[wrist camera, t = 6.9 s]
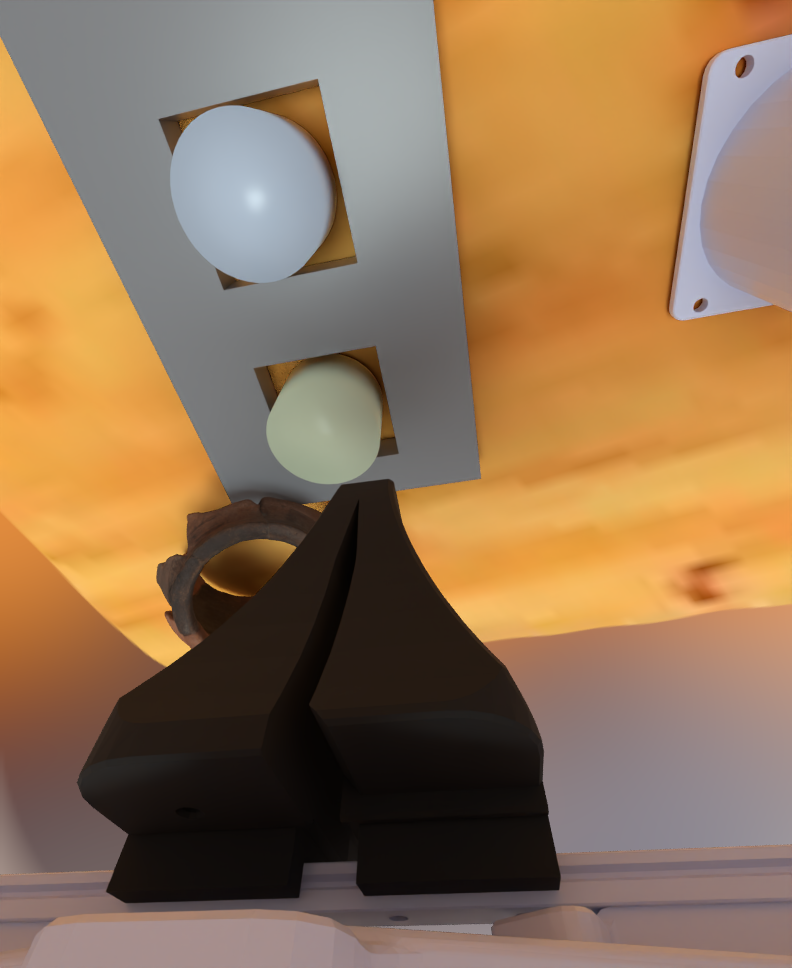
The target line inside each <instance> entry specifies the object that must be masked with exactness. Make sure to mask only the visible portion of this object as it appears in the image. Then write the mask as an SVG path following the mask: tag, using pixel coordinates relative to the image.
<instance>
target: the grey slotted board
mask: <svg viewBox="0 0 792 968" xmlns="http://www.w3.org/2000/svg"><path fill="white" fill-rule="evenodd" d="M0 37H1V39H2V41H3V43H4V45H5V47H6V49H7V51H8V53H9V55H10V57H11V59H12V61H13V63H14V65H15V67H16V69H17V71H18V73H19V75H20V77H21V79H22V81H23V83H24V85H25V87H26V89H27V91H28V93H29V95H30V97H31V99H32V101H33V103H34V105H35V107H36V109H37V111H38V113H39V115H40V117H41V119H42V121H43V123H44V126H45V128H46V130H47V132H48V134H49V136H50V138H51V140H52V142H53V144H54V146H55V148H56V150H57V152H58V154H59V156H60V158H61V160H62V162H63V164H64V166H65V168H66V170H67V172H68V174H69V176H70V178H71V180H72V182H73V184H74V186H75V188H76V190H77V192H78V194H79V196H80V198H81V200H82V202H83V204H84V206H85V208H86V210H87V212H88V214H89V216H90V218H91V220H92V222H93V224H94V226H95V228H96V230H97V232H98V234H99V236H100V238H101V240H102V242H103V244H104V247H105V249H106V251H107V253H108V255H109V257H110V259H111V261H112V263H113V265H114V267H115V269H116V271H117V273H118V275H119V277H120V279H121V281H122V283H123V285H124V287H125V289H126V291H127V293H128V295H129V297H130V299H131V301H132V303H133V305H134V307H135V309H136V311H137V313H138V315H139V317H140V319H141V321H142V323H143V325H144V327H145V329H146V331H147V333H148V335H149V337H150V339H151V341H152V343H153V345H154V347H155V349H156V351H157V353H158V355H159V357H160V359H161V361H162V363H163V365H164V368H165V370H166V372H167V374H168V376H169V378H170V380H171V382H172V384H173V386H174V388H175V390H176V392H177V394H178V396H179V398H180V400H181V402H182V404H183V406H184V408H185V410H186V412H187V414H188V416H189V418H190V420H191V422H192V424H193V426H194V428H195V430H196V432H197V434H198V436H199V438H200V440H201V442H202V444H203V446H204V448H205V450H206V452H207V454H208V456H209V458H210V460H211V462H212V464H213V466H214V468H215V470H216V472H217V474H218V476H219V478H220V480H221V482H222V484H223V486H224V489H225V491H226V493H227V495H228V497H229V499H230V501H231V503H235V502H238V501H242V500H246V499H249V500H252V501H253V502H255V503H256V504H258V503H259V502H260V500H261V499H262V498H263V497H273V498H277V499H282V500H289V501H292V502H296V503H299V504H308V503H315V502H322V501H329V500H331V499H332V497H333V495H334V494H335V492H336V491H337V489H338V488H339V487H340V486H341V485H342V484H350V483H358V482H366V481H374V480H382V479H390V480H392V481H393V482H394V485H395V490H396V491H399V490H406V489H413V488H419V487H426V486H433V485H440V484H447V483H454V482H461V481H468V480H475V479H481V474H480V464H479V454H478V444H477V434H476V424H475V414H474V404H473V394H472V384H471V374H470V364H469V354H468V344H467V334H466V324H465V314H464V304H463V294H462V284H461V274H460V264H459V254H458V244H457V234H456V224H455V214H454V204H453V194H452V184H451V174H450V164H449V154H448V144H447V134H446V124H445V114H444V104H443V94H442V84H441V74H440V64H439V54H438V44H437V34H436V24H435V14H434V4H433V0H0ZM316 86H320V91H321V96H322V100H323V105H324V110H325V114H326V119H327V123H328V128H329V133H330V137H331V142H332V147H333V151H334V156H335V160H336V165H337V170H338V174H339V179H340V184H341V188H342V193H343V197H344V202H345V207H346V211H347V216H348V221H349V225H350V230H351V234H352V239H353V244H354V248H355V253H356V256H354V257H350V258H345V259H340V260H335V261H330V262H325V263H320V264H315V265H311V266H306V267H301V268H300V269H299V270H298V271H297V272H295V273H294V274H292V275H291V276H289V277H287V278H284V279H282V280H279V281H275V282H269V283H253V282H247V281H243V280H237V281H236V280H235V278H234V277H232V276H230V275H227V274H226V273H224V272H222V271H220V270H219V269H217V268H216V267H215V266H213V265H212V264H211V263H210V262H208V261H207V260H206V259H205V258H204V257H203V256H202V255H201V254H200V253H199V252H198V250H197V249H196V248H195V247H194V246H193V244H192V243H191V241H190V240H189V239H188V237H187V235H186V233H185V232H184V230H183V228H182V226H181V224H180V222H179V220H178V217H177V214H176V211H175V208H174V204H173V200H172V195H171V187H170V169H171V161H172V157H173V153H174V149H175V147H176V145H177V142H178V140H179V138H180V136H181V135H182V132H181V129H180V126H179V123H178V121H181V120H185V119H189V118H193V117H197V116H199V115H201V114H203V113H205V112H206V111H208V110H211V109H214V108H217V107H222V106H228V105H232V106H240V105H244V104H248V103H252V102H256V101H260V100H264V99H268V98H272V97H276V96H280V95H284V94H288V93H292V92H296V91H300V90H304V89H308V88H312V87H316ZM373 346H376V350H377V355H378V359H379V364H380V369H381V373H382V378H383V383H384V387H385V392H386V396H387V401H388V406H389V410H390V415H391V420H392V424H393V429H394V433H395V438H391V439H384V440H380V447H379V451H378V454H377V457H376V459H375V461H374V462H373V464H372V465H371V466H370V467H369V468H368V470H366V471H365V472H364V473H363V474H361V475H360V476H358V477H357V478H355V479H352V480H350V481H347V482H344V483H339V484H319V483H314V482H310V481H307V480H304V479H302V478H300V477H297V476H296V475H294V474H292V473H291V472H289V471H288V470H287V469H285V468H284V467H283V466H282V465H281V464H280V463H279V461H278V460H277V459H276V458H275V456H274V454H273V453H272V451H271V449H270V447H269V444H268V440H267V434H266V426H267V420H268V417H269V414H270V412H271V410H272V408H273V406H274V404H275V402H276V400H277V398H278V396H277V393H276V391H275V388H274V385H273V382H272V380H271V377H270V374H269V371H268V369H267V366H268V365H274V364H279V363H285V362H290V361H296V360H301V359H307V358H312V357H318V356H323V355H329V354H334V353H340V352H345V351H351V350H356V349H362V348H367V347H373Z"/></svg>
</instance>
